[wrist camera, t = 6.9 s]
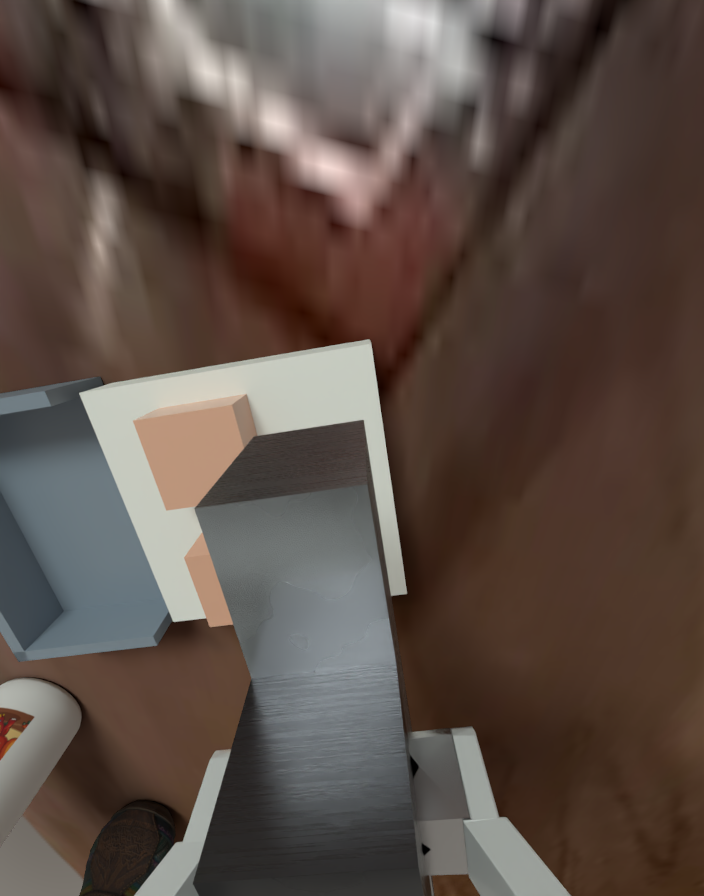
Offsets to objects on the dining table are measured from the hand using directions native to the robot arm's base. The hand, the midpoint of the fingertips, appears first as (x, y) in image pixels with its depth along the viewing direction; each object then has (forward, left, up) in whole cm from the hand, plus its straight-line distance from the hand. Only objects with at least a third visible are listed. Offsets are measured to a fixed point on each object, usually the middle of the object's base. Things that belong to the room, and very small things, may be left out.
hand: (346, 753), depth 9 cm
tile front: (+7, -4, -14) cm, 16 cm away
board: (+6, 0, -17) cm, 18 cm away
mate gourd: (+27, +34, -18) cm, 47 cm away
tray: (+19, 0, -17) cm, 26 cm away
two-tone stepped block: (0, 0, -4) cm, 4 cm away
